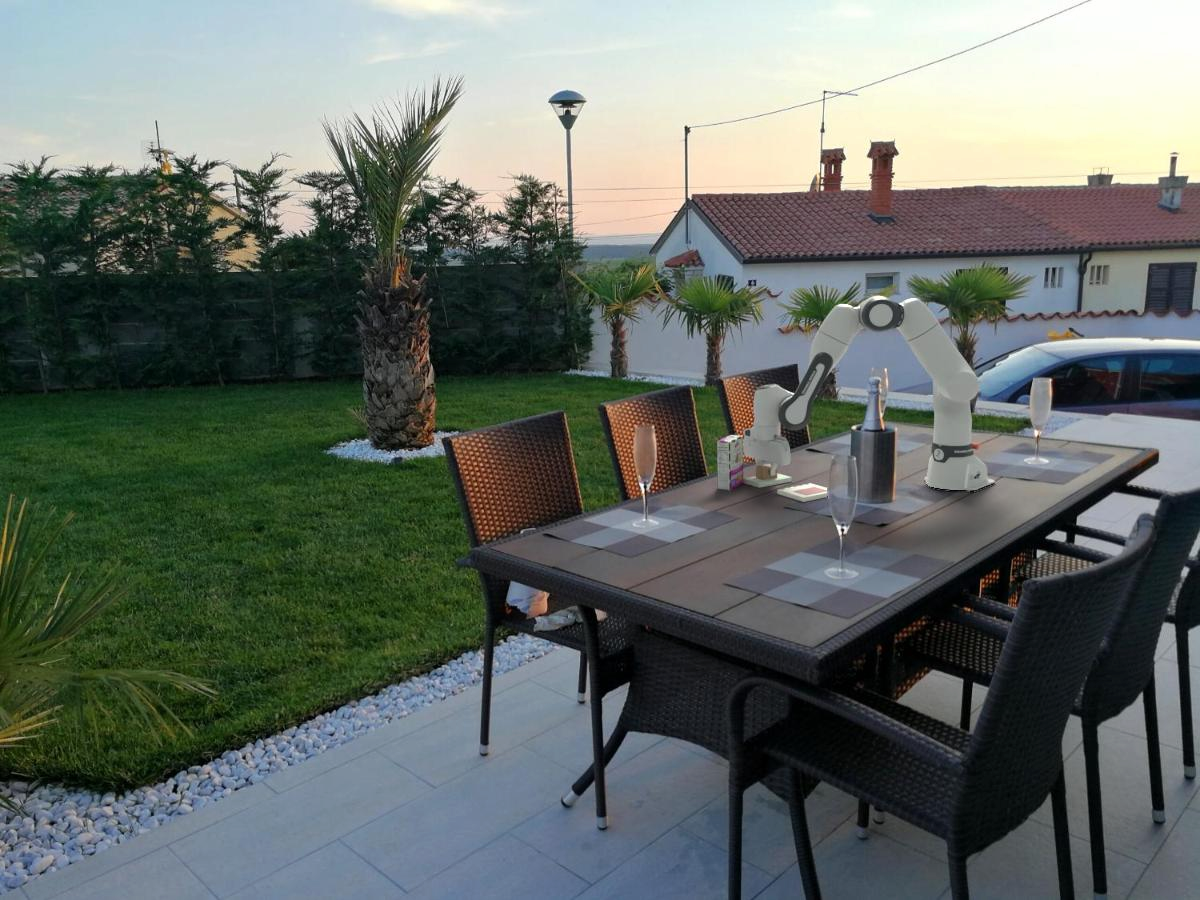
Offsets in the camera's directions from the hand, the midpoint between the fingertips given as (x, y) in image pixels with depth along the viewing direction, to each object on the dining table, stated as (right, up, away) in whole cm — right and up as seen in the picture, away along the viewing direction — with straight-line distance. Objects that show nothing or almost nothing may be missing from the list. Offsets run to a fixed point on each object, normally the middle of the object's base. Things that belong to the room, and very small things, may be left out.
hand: (766, 473), depth 281 cm
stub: (0, -3, 0) cm, 3 cm away
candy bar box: (-13, -4, -3) cm, 14 cm away
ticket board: (+10, -6, -16) cm, 20 cm away
